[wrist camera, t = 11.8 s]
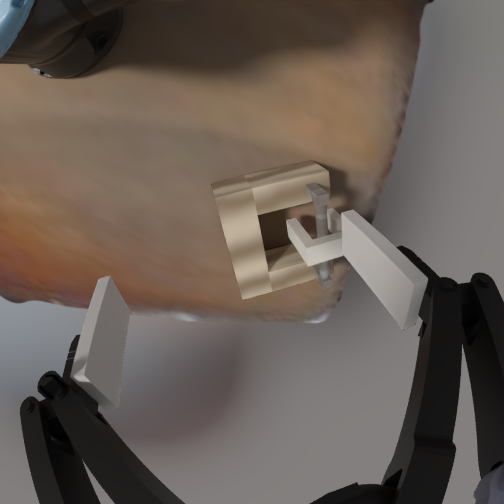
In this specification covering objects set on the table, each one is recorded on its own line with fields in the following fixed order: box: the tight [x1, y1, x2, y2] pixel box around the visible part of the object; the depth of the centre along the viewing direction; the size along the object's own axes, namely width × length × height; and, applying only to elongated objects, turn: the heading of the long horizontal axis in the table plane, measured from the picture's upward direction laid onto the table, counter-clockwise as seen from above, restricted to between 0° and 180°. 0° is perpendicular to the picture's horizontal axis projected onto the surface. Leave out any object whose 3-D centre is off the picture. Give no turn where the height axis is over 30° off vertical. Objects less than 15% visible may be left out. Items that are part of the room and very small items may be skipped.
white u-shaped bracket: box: [286, 208, 344, 266], centre depth 42 cm, size 3×8×8 cm, turn 101°
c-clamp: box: [211, 161, 334, 300], centre depth 43 cm, size 18×16×10 cm
